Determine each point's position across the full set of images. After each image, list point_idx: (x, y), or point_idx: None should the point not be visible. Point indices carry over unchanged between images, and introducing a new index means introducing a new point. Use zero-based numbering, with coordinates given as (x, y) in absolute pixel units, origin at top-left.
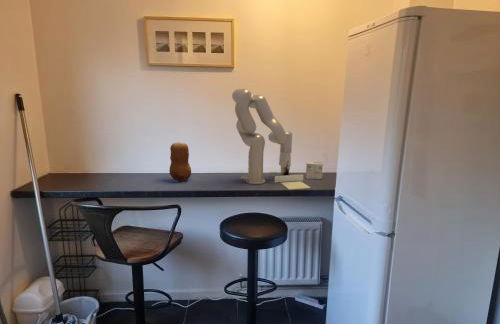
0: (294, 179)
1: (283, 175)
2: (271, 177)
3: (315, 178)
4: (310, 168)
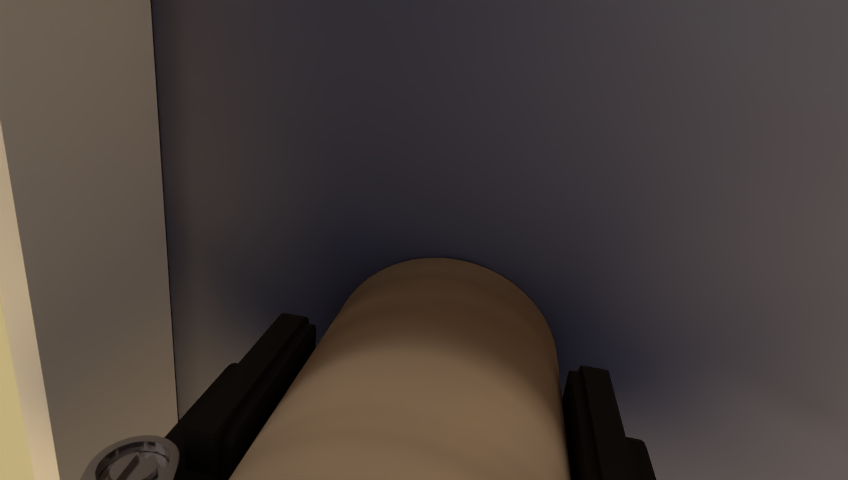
0: None
1: (320, 342)
2: (719, 40)
3: None
4: None
